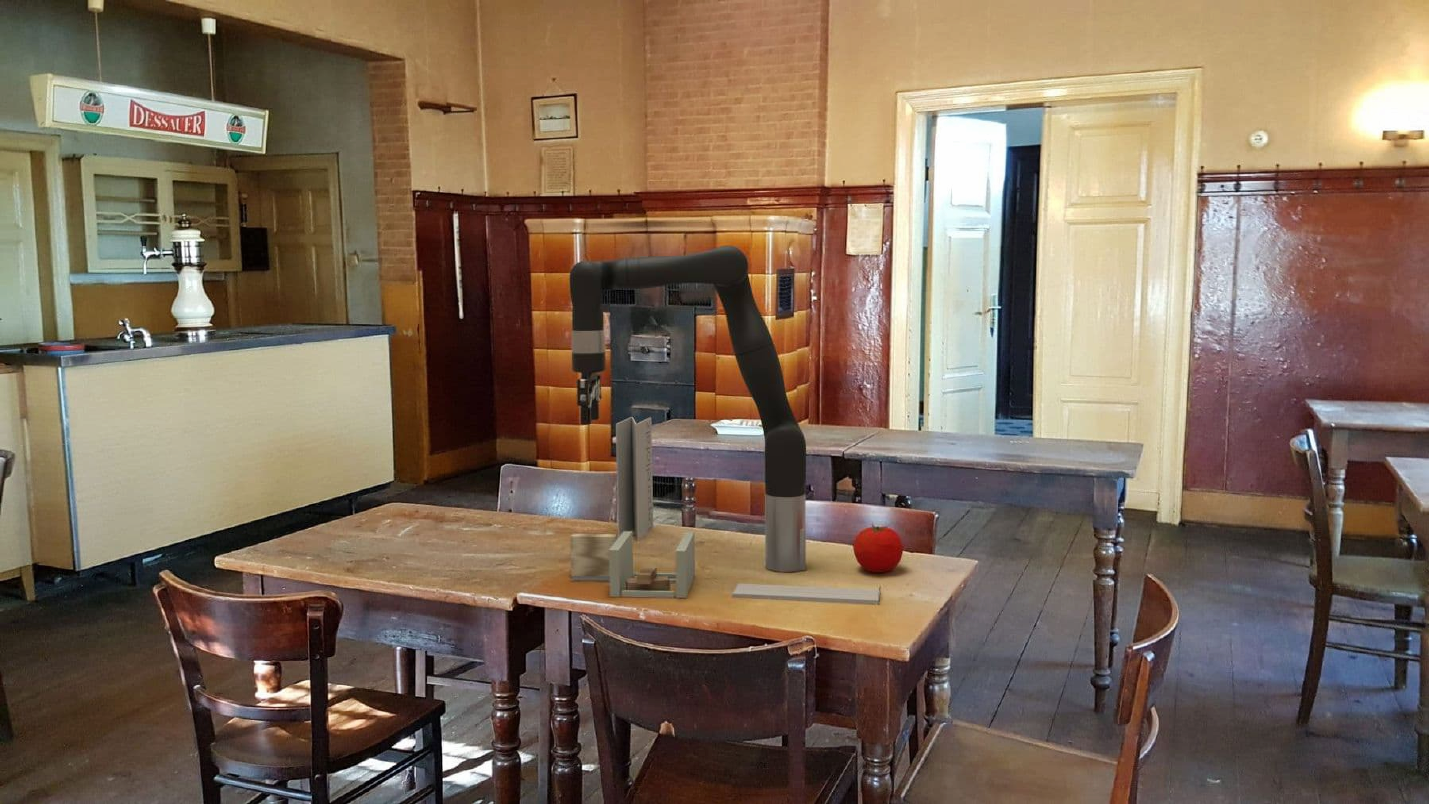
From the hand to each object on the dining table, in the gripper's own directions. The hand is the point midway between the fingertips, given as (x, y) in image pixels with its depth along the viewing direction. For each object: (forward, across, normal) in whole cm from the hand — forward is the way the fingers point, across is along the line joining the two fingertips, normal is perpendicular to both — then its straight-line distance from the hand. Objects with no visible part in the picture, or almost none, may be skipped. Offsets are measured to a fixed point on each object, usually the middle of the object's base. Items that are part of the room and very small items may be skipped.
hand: (590, 422), depth 235 cm
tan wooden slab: (+34, -6, -2) cm, 34 cm away
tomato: (+34, +3, -65) cm, 74 cm away
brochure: (+34, +34, -4) cm, 49 cm away
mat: (+34, -6, -2) cm, 35 cm away
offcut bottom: (+34, -17, -15) cm, 41 cm away
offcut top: (+32, -17, -15) cm, 39 cm away
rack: (+34, -13, -16) cm, 40 cm away
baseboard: (+35, -16, -49) cm, 63 cm away
